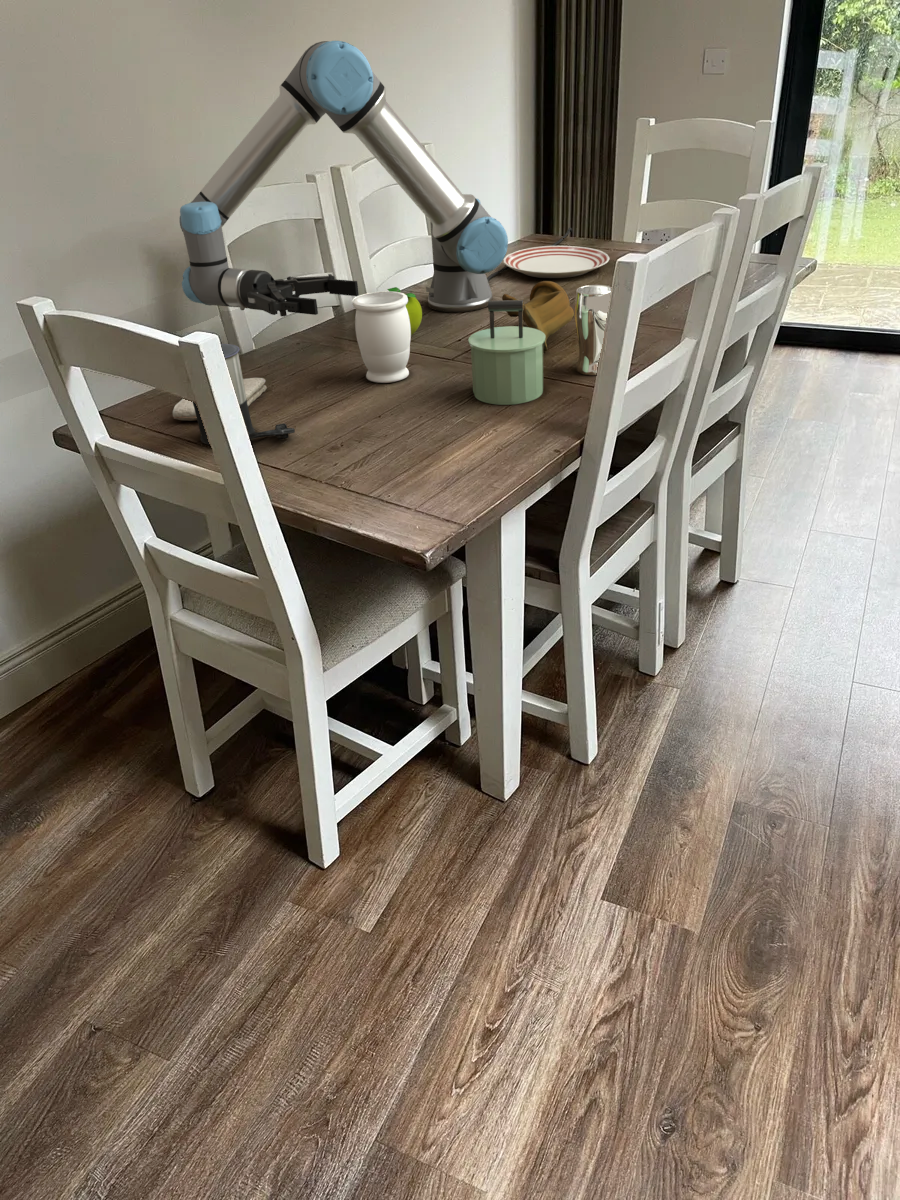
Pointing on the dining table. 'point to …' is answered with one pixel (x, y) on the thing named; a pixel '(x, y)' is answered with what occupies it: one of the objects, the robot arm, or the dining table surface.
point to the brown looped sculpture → (545, 308)
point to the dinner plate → (556, 261)
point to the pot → (507, 376)
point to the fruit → (412, 310)
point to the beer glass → (591, 325)
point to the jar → (383, 334)
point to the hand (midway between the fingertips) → (337, 297)
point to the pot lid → (506, 332)
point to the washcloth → (252, 391)
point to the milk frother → (242, 399)
